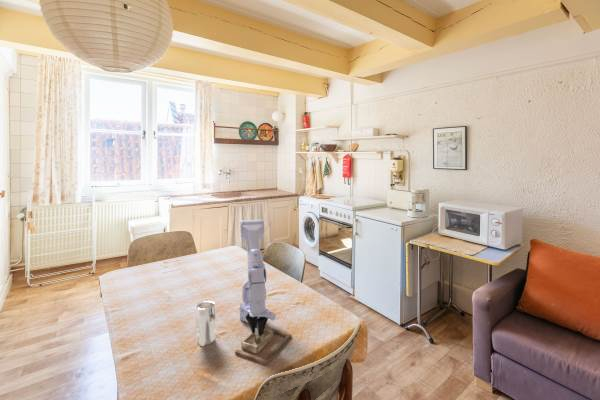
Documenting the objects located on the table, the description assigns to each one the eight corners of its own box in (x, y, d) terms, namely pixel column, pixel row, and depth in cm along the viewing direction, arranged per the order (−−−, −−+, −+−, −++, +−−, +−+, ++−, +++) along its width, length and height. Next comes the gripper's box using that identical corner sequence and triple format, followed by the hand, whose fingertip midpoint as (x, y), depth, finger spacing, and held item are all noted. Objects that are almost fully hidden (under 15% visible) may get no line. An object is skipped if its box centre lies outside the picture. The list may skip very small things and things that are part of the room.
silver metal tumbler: (218, 336, 117) (217, 300, 115) (214, 347, 110) (212, 309, 108) (200, 336, 116) (199, 300, 114) (195, 347, 109) (193, 310, 107)
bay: (235, 356, 105) (235, 351, 105) (263, 330, 121) (263, 325, 121) (266, 368, 99) (266, 362, 99) (291, 338, 115) (291, 334, 115)
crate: (241, 348, 108) (241, 331, 107) (258, 332, 118) (258, 317, 117) (257, 354, 105) (257, 337, 104) (273, 337, 115) (273, 321, 114)
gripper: (234, 299, 108) (235, 333, 110) (268, 308, 102) (268, 344, 104) (246, 291, 115) (246, 324, 116) (278, 299, 108) (278, 333, 110)
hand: (257, 333), depth 111 cm, fingers closed on crate, 2 cm apart
